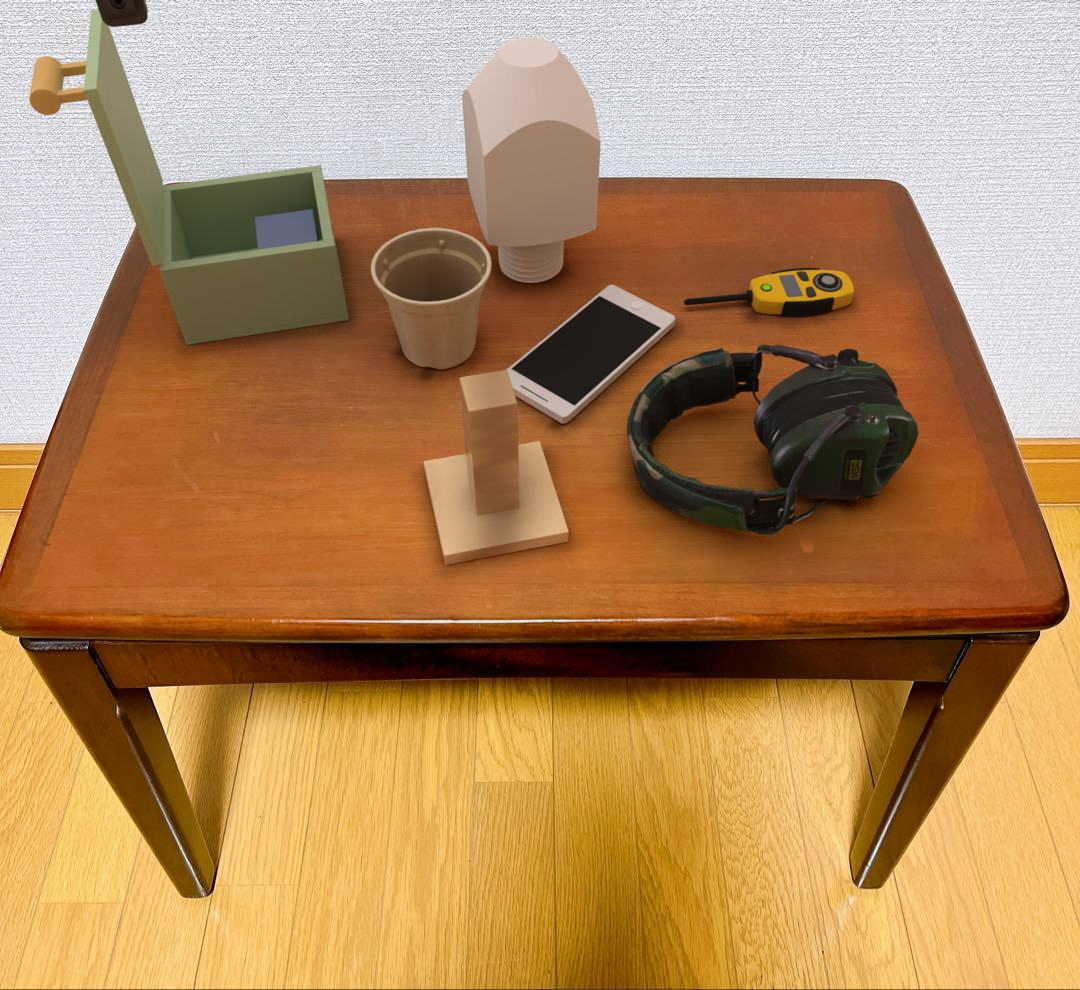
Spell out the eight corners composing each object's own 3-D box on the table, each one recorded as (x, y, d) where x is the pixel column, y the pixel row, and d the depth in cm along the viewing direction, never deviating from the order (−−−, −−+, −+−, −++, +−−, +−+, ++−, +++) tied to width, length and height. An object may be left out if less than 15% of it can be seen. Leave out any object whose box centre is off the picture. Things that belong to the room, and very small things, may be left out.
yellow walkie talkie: (862, 295, 87) (691, 309, 86) (856, 312, 88) (689, 327, 87) (844, 260, 90) (679, 274, 89) (839, 278, 92) (676, 291, 90)
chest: (335, 239, 95) (320, 164, 89) (349, 320, 88) (334, 245, 82) (184, 260, 93) (159, 185, 87) (186, 345, 86) (159, 270, 80)
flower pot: (516, 333, 87) (514, 251, 80) (454, 401, 82) (446, 318, 75) (426, 296, 90) (417, 214, 83) (361, 359, 85) (346, 276, 78)
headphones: (853, 315, 80) (605, 374, 80) (919, 303, 66) (622, 374, 66) (885, 480, 81) (642, 537, 81) (956, 500, 68) (665, 568, 68)
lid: (102, 8, 75) (26, 17, 75) (96, 88, 68) (11, 99, 67) (163, 180, 87) (97, 189, 86) (163, 264, 79) (91, 275, 79)
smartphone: (676, 324, 87) (677, 316, 87) (564, 425, 80) (564, 417, 79) (610, 290, 90) (610, 282, 89) (496, 385, 83) (496, 377, 82)
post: (445, 565, 71) (430, 452, 62) (424, 471, 77) (408, 354, 68) (568, 541, 73) (572, 427, 63) (539, 450, 78) (539, 333, 69)
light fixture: (593, 288, 91) (603, 75, 75) (491, 304, 89) (480, 90, 74) (567, 226, 96) (572, 17, 81) (471, 240, 95) (457, 30, 79)
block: (270, 298, 88) (258, 251, 84) (266, 263, 91) (254, 216, 88) (327, 290, 89) (318, 243, 85) (322, 255, 92) (312, 208, 88)
